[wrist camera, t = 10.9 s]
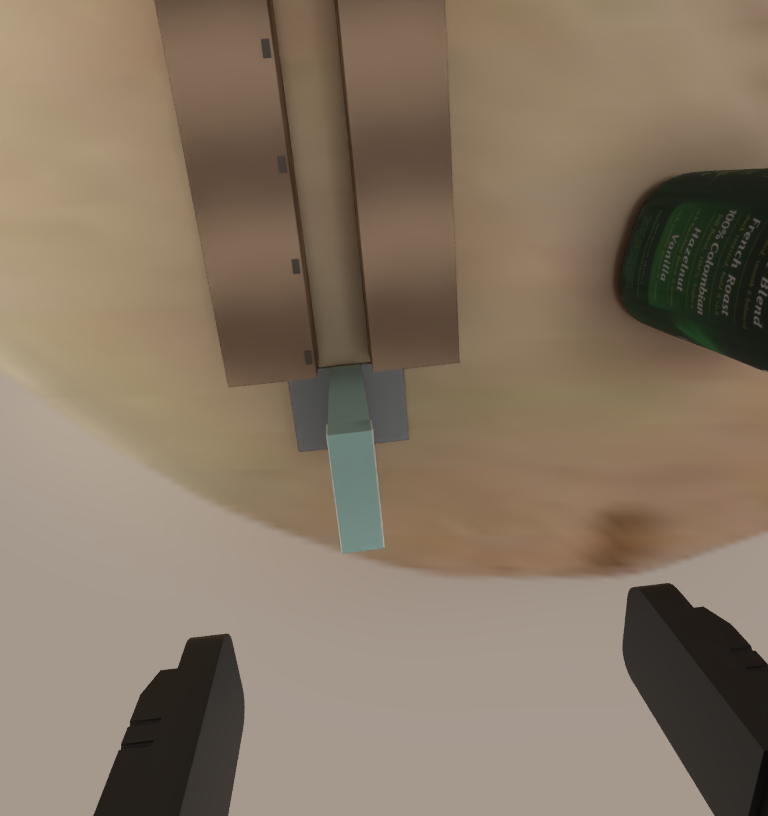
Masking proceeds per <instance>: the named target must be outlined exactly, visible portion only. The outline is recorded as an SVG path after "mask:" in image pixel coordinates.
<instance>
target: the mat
mask: <svg viewBox="0 0 768 816" xmlns="http://www.w3.org/2000/svg"><path fill="white" fill-rule="evenodd" d="M351 365H359V364H351ZM342 366H350V365H342ZM332 367H340V366H332ZM329 368H331V367H323V368H318V371H317V378H313V379H303V380H294V381H288V383H289V390H290V397H291V403H292V410H293V416H294V423H295V429H296V436H297V443H298V449H299V452H303V451H312V450H321V449H328V446H327V439H326V424H328V397H329ZM361 370H362V376H363V382H364V387H365V393H366V399H367V405H368V411H369V417H370V420H371V421H372V427H373V435H374V443H383V442H392V441H401V440H409V435H408V422H407V409H406V395H405V382H404V369H397V370H388V371H378V372H373V368H372V364H371V362H370V363H361Z"/></svg>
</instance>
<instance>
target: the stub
mask: <svg viewBox="0 0 768 816" xmlns="http://www.w3.org/2000/svg"><path fill="white" fill-rule="evenodd" d="M326 439H327V446H328V454H329V461H330V469H331V476H332V484H333V492H334V499H335V507H336V514H337V522H338V530H339V537H340V545H341V552H343V553H351V552H359V551H368V550H376V549H384V547H385V545H384V535H383V525H382V515H381V505H380V495H379V485H378V475H377V465H376V455H375V445H374V435H373V427H372V421H371V420H370V417H369V411H368V405H367V399H366V393H365V387H364V382H363V376H362V370H361V364H359V365H350V366H340V367H331V368H329V397H328V424H326Z"/></svg>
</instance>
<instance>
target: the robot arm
mask: <svg viewBox="0 0 768 816" xmlns="http://www.w3.org/2000/svg"><path fill="white" fill-rule="evenodd" d="M623 656H624V661H625V665H626V668H627V671H628V673H629V675H630V677H631V679H632V681H633V683H634V684H635V686H636V687H637V689H638V691H639V692H640V694H641V696H642V697H643V699H644V701H645V702H646V704H647V706H648V707H649V709H650V711H651V712H652V714H653V716H654V717H655V718H656V720H657V722H658V724H659V725H660V727H661V729H662V730H663V732H664V733H665V735H666V737H667V739H668V740H669V742H670V743H671V745H672V747H673V748H674V750H675V752H676V753H677V755H678V757H679V758H680V760H681V761H682V763H683V765H684V766H685V768H686V770H687V771H688V773H689V775H690V776H691V778H692V779H693V781H694V782H695V784H696V786H697V788H698V789H699V791H700V793H701V794H702V796H703V797H704V799H705V801H706V802H707V804H708V806H709V807H710V809H711V811H712V812H713V814H714V815H715V816H768V664H767V663H766V662H765V661H764V660H763V659H762V658H761V656H760V655H759V654H758V653H757V652H756V651H753V650H752V648H751V646H750V644H749V643H748V642H747V641H746V640H745V639H744V638H743V637H742V636H741V635H740V634H739V632H738V631H737V630H736V629H735V628H734V627H733V626H732V625H731V624H730V623H728V622H727V621H725V620H724V619H722V618H720V617H719V616H717V615H716V614H714V613H713V612H711V611H709V610H708V609H706V608H704V607H697V608H693V607H692V605H691V604H690V603H689V602H688V601H687V600H686V598H685V597H684V596H683V595H682V594H681V593H680V591H679V590H678V589H677V588H676V587H675V586H673V585H672V584H670V583H665V584H657V585H649V586H640V587H633V588H631V589H630V590H629V593H628V597H627V607H626V616H625V627H624V635H623ZM243 724H244V693H243V688H242V684H241V679H240V674H239V670H238V665H237V661H236V657H235V652H234V647H233V643H232V639H231V637H230V635H229V634H220V635H211V636H204V637H194V638H190V639H189V640H188V641H187V643H186V646H185V649H184V651H183V654H182V657H181V660H180V663H179V666H178V668H177V669H168V670H160V672H159V673H158V674H157V675H156V676H155V678H154V679H153V680H152V681H151V683H150V684H149V685H148V686H147V688H146V689H145V690H144V691H143V692H142V694H141V695H140V697H139V700H138V702H137V705H136V708H135V710H134V713H133V715H132V718H131V720H130V727H128V728H127V731H126V733H125V736H124V739H123V741H122V743H121V750H119V751H118V754H117V756H116V759H115V761H114V764H113V767H112V769H111V772H110V774H109V777H108V780H107V782H106V785H105V787H104V790H103V792H102V795H101V798H100V800H99V803H98V805H97V808H96V811H95V813H94V815H93V816H228V813H229V807H230V801H231V795H232V790H233V784H234V778H235V772H236V766H237V760H238V755H239V749H240V743H241V737H242V731H243Z"/></svg>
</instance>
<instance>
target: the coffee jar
mask: <svg viewBox="0 0 768 816" xmlns="http://www.w3.org/2000/svg"><path fill="white" fill-rule="evenodd" d="M620 290H621V296H622V299H623V302H624V305H625V307H626V309H627V310H628V312H629V313H630V314H631V315H632V316H633V317H634V318H635V319H637V320H638V321H640V322H642V323H644V324H646V325H648V326H651V327H653V328H656V329H658V330H660V331H663V332H665V333H668V334H670V335H673V336H676V337H678V338H681V339H683V340H686V341H689V342H691V343H694V344H697V345H699V346H702V347H705V348H707V349H710V350H713V351H715V352H718V353H720V354H723V355H725V356H728V357H730V358H733V359H735V360H738V361H740V362H743V363H745V364H748V365H750V366H753V367H755V368H757V369H760V370H763V371H765V372H768V168H766V169H744V170H723V171H706V172H693V173H687V174H682V175H679V176H677V177H675V178H672V179H670V180H669V181H667V182H665V183H664V184H662V185H661V186H660V187H659V188H658V189H656V190H655V191H654V192H653V194H652V195H651V196H650V197H649V198H648V200H647V201H646V202H645V204H644V206H643V207H642V209H641V211H640V213H639V215H638V217H637V220H636V222H635V224H634V226H633V229H632V232H631V235H630V238H629V241H628V243H627V247H626V250H625V254H624V258H623V263H622V268H621V276H620Z"/></svg>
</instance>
